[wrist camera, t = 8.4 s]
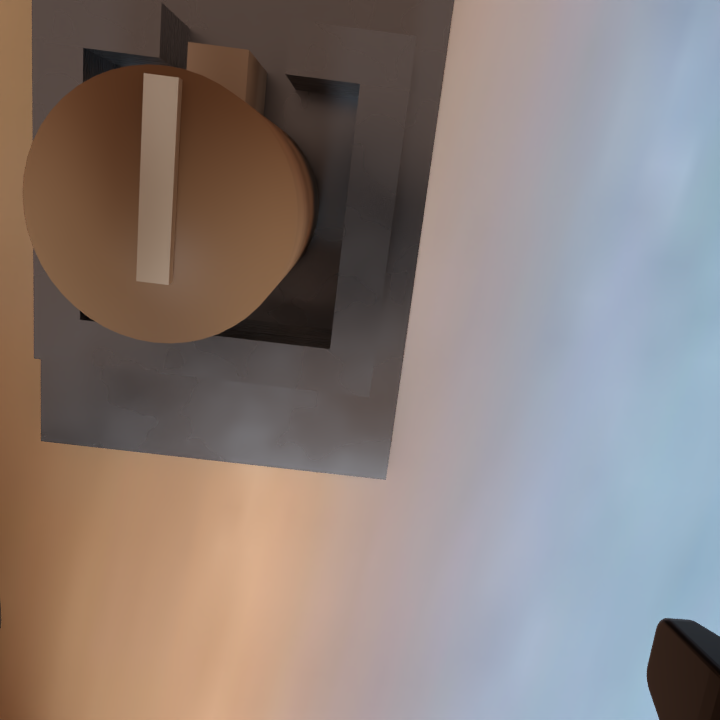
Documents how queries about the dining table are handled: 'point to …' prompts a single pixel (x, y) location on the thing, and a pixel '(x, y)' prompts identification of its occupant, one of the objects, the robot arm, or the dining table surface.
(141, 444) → the base plate
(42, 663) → the dining table surface
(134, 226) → the knob
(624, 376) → the dining table surface
